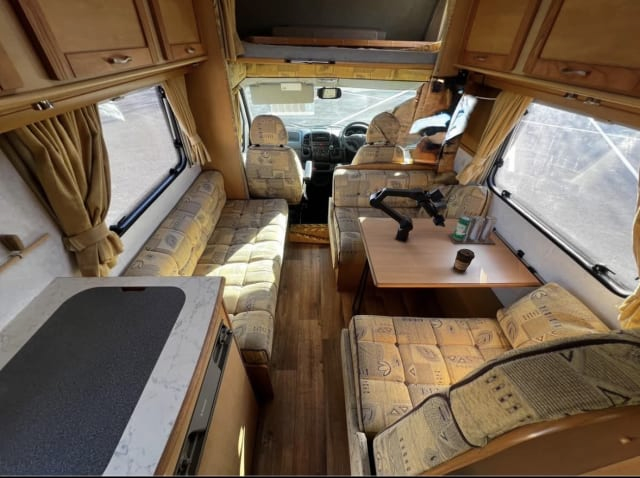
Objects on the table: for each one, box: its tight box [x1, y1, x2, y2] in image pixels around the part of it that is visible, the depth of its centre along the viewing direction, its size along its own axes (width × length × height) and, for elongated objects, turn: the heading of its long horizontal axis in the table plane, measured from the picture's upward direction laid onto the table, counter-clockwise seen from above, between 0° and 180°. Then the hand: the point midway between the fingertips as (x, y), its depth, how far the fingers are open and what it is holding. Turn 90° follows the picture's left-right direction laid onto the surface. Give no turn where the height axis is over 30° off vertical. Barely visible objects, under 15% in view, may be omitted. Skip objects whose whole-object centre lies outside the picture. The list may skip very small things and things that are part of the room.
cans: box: [466, 215, 498, 241], centre depth 161 cm, size 14×6×15 cm, turn 89°
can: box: [452, 214, 473, 241], centre depth 161 cm, size 6×6×15 cm
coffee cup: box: [452, 248, 476, 275], centre depth 138 cm, size 9×8×13 cm
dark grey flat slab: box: [448, 233, 496, 246], centre depth 166 cm, size 25×10×1 cm, turn 89°
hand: (441, 222), depth 157 cm, fingers open, 9 cm apart
